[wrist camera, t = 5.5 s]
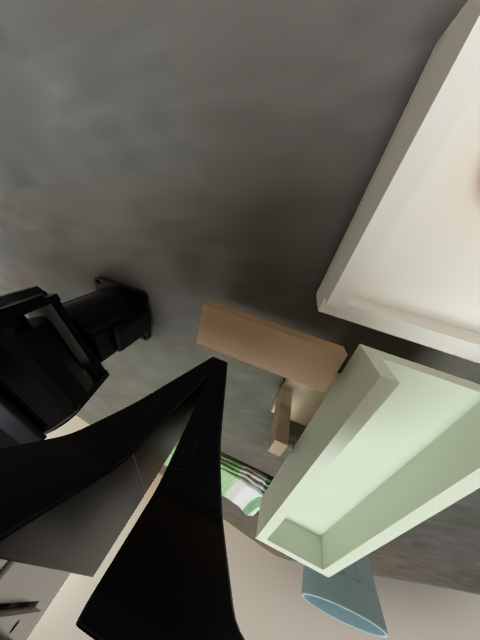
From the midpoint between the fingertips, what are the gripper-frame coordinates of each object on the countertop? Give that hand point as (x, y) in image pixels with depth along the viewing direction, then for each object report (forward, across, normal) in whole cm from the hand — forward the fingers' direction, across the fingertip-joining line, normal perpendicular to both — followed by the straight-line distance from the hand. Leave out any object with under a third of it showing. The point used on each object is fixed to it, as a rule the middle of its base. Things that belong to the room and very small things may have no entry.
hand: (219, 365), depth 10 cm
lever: (+3, -6, +8) cm, 10 cm away
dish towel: (+9, 0, +38) cm, 39 cm away
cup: (+8, -18, +25) cm, 32 cm away
